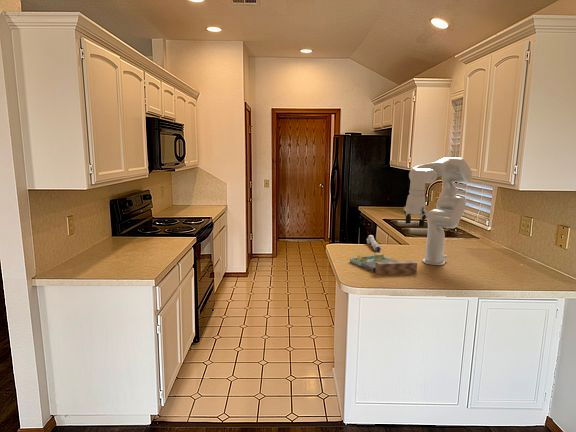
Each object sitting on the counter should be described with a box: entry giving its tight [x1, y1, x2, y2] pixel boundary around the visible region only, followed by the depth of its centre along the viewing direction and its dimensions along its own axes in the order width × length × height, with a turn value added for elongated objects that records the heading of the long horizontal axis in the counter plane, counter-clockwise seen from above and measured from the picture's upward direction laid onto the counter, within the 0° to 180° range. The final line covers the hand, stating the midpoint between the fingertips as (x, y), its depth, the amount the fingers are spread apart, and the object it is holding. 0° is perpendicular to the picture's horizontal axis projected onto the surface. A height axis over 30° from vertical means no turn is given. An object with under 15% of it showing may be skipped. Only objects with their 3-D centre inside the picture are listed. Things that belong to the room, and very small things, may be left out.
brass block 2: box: [373, 252, 385, 261], centre depth 241 cm, size 4×4×4 cm
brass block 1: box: [356, 254, 368, 263], centre depth 235 cm, size 4×4×4 cm
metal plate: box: [361, 258, 398, 273], centre depth 229 cm, size 22×10×2 cm, turn 118°
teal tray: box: [349, 254, 391, 268], centre depth 238 cm, size 22×10×2 cm, turn 118°
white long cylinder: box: [366, 234, 382, 253], centre depth 275 cm, size 5×7×25 cm
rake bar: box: [374, 260, 418, 275], centre depth 220 cm, size 22×4×6 cm, turn 101°
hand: (414, 225), depth 218 cm, fingers open, 9 cm apart
